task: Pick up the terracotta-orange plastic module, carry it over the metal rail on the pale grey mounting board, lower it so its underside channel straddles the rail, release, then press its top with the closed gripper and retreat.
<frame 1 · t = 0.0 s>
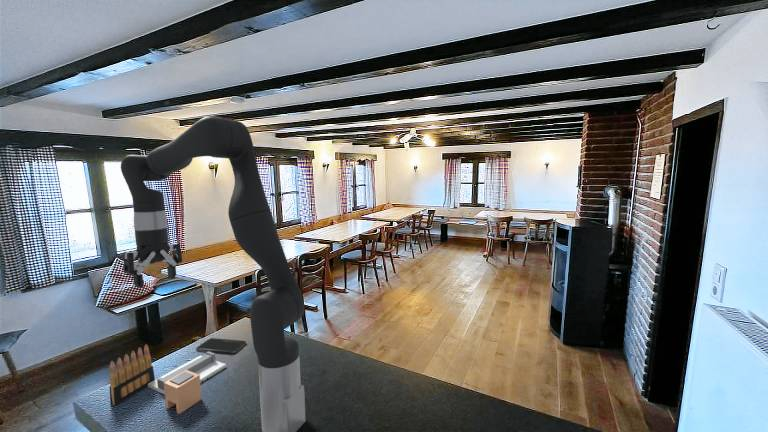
hand: (156, 282, 92), 29 cm above the counter, fingers open, 8 cm apart
phone: (221, 348, 113), on the counter
module: (184, 403, 84), on the counter
ammunition clip: (134, 393, 89), on the counter
rail board: (188, 376, 96), on the counter
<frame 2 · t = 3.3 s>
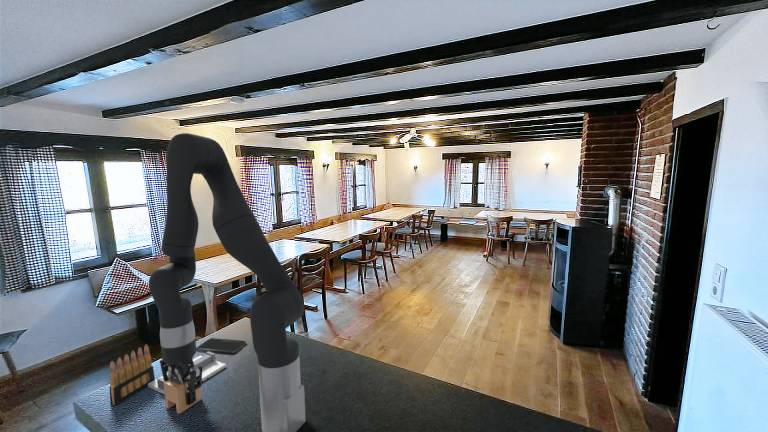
hand: (183, 399, 84), 1 cm above the counter, fingers closed on module, 5 cm apart
module: (184, 403, 84), on the counter, touching gripper
everything else where it was.
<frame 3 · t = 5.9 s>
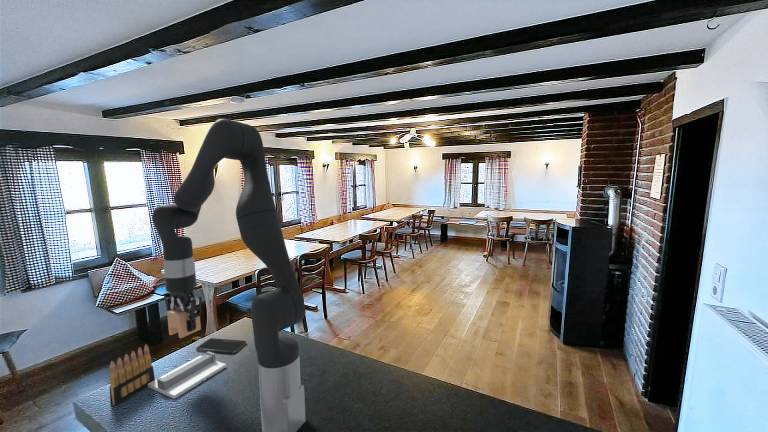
hand: (185, 328, 94), 15 cm above the counter, fingers closed on module, 5 cm apart
module: (185, 331, 94), point 14 cm above the counter, touching gripper
everything else where it was.
when the fingers open (2 cm above the counter, at t = 8.5 s): module stays where it is, resting on rail board.
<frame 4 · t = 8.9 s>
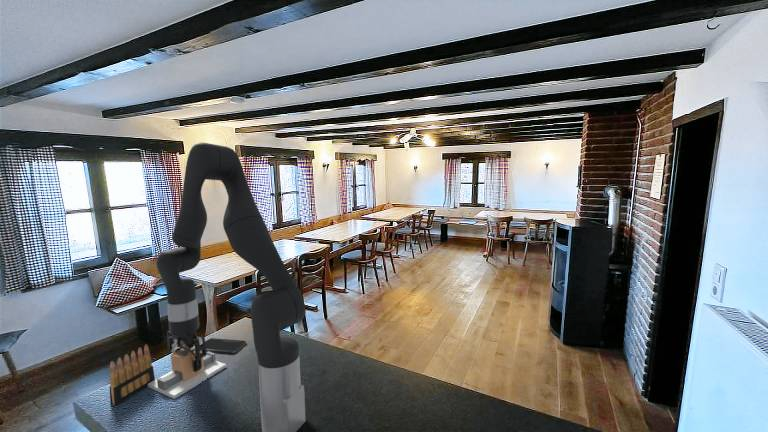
hand: (188, 366, 95), 3 cm above the counter, fingers open, 8 cm apart
module: (188, 373, 96), point 1 cm above the counter, touching rail board
everything else where it was.
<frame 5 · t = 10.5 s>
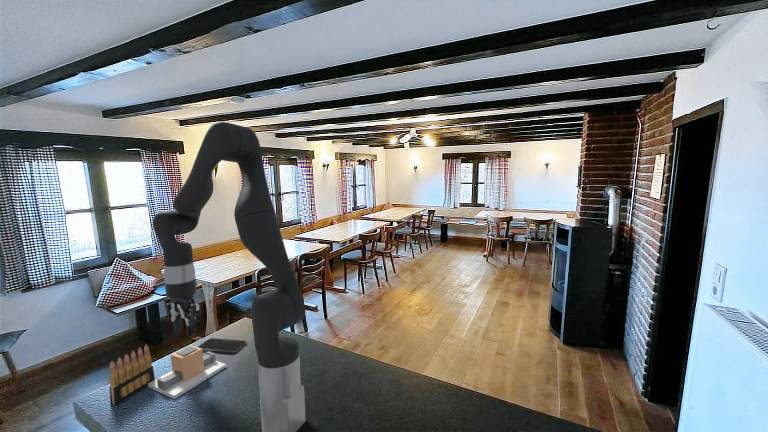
hand: (185, 334, 94), 13 cm above the counter, fingers open, 5 cm apart
nothing on the counter moved.
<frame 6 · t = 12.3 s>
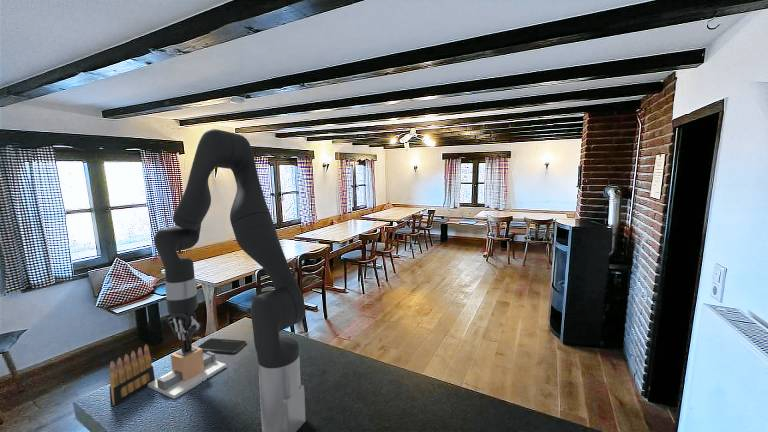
hand: (186, 350, 95), 8 cm above the counter, fingers closed
module: (188, 373, 96), point 1 cm above the counter, touching gripper, rail board
everything else where it was.
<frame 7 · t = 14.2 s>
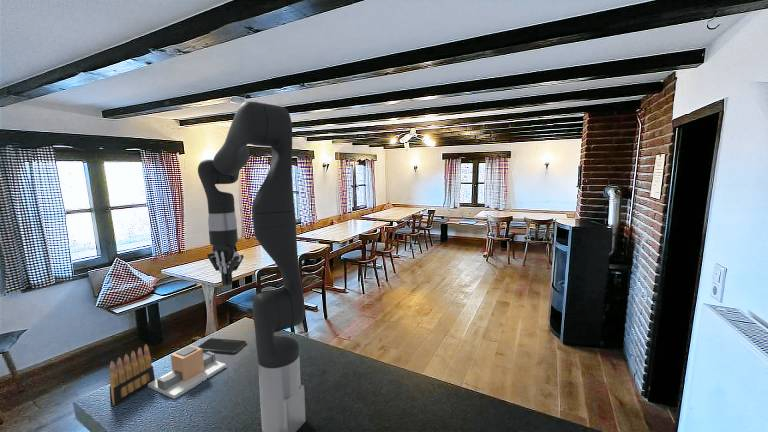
hand: (227, 284, 96), 27 cm above the counter, fingers closed
module: (188, 373, 96), point 1 cm above the counter, touching rail board
everything else where it was.
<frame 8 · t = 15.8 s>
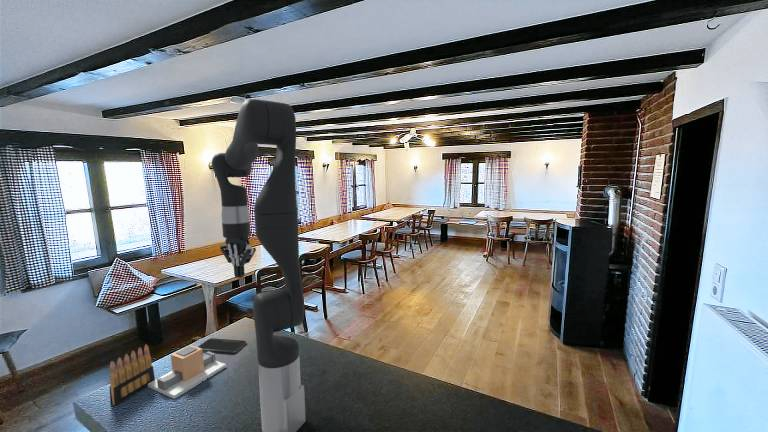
hand: (239, 276, 98), 29 cm above the counter, fingers closed
nothing on the counter moved.
at the end: module inside the target area on the rail board (0.1 cm from its centre), point 1.0 cm above the rail board's base; module tilted 0°; the gripper is holding nothing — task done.
